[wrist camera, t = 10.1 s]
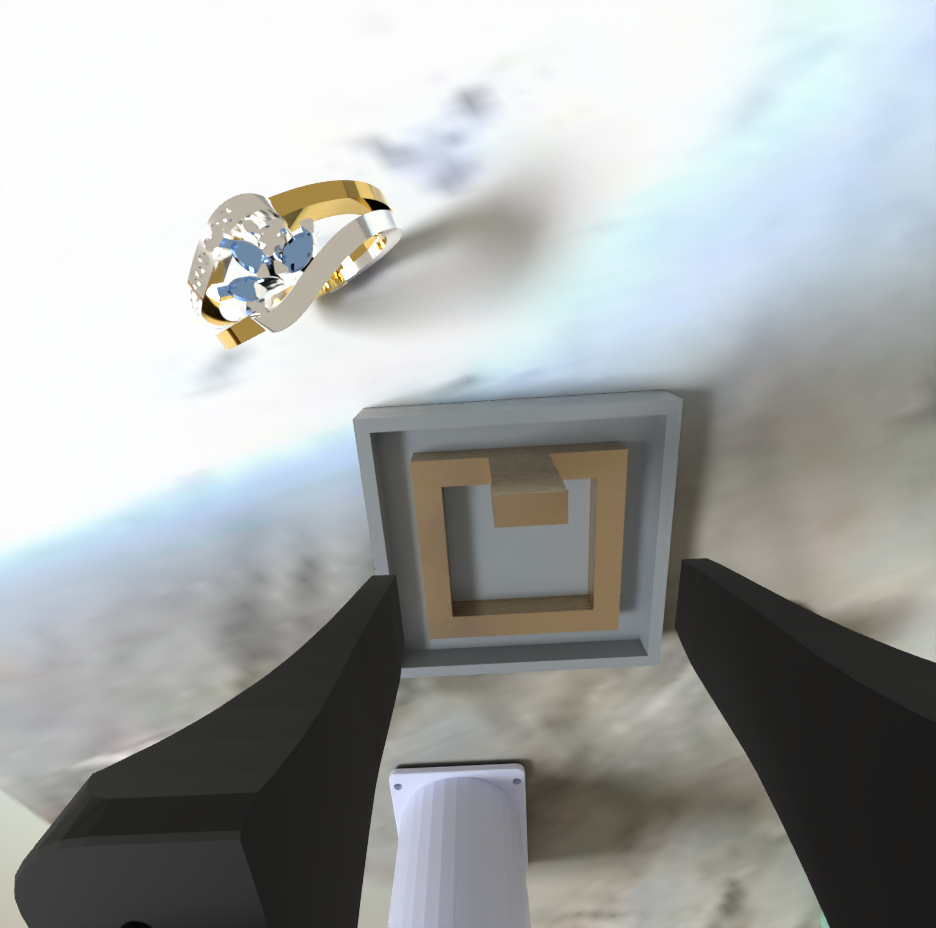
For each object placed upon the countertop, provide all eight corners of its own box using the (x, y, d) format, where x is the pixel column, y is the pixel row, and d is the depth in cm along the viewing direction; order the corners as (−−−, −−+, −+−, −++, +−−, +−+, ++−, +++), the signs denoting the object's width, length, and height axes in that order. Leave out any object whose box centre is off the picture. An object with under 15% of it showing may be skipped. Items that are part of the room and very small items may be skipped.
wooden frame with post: (611, 613, 23) (649, 697, 18) (431, 622, 24) (421, 708, 19) (619, 440, 20) (667, 485, 15) (413, 453, 21) (395, 501, 16)
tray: (644, 637, 25) (659, 665, 23) (396, 650, 25) (391, 678, 23) (663, 389, 20) (683, 398, 19) (363, 408, 21) (352, 419, 19)
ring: (390, 193, 18) (333, 116, 10) (430, 274, 19) (404, 257, 11) (241, 282, 19) (92, 269, 11) (286, 354, 20) (175, 387, 12)
